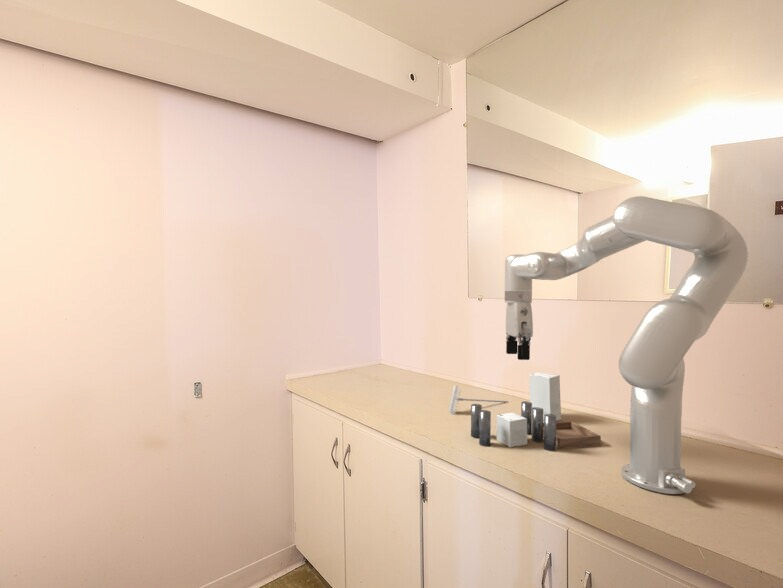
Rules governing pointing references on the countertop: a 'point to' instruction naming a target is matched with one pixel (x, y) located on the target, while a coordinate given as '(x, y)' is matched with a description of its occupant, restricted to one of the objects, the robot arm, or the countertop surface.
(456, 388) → the brush
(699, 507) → the countertop surface
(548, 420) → the posts
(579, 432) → the walnut tray
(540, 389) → the skincare box
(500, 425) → the skincare box
